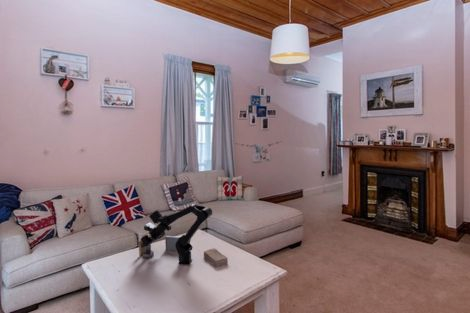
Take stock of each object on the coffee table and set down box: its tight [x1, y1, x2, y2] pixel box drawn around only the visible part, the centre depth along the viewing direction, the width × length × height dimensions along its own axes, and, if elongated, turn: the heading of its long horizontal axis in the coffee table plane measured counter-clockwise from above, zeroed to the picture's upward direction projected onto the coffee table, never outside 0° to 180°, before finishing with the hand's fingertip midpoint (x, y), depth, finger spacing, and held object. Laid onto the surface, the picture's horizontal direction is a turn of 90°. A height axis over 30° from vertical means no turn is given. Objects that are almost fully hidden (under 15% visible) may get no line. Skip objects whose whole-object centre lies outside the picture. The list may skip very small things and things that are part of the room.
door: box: [138, 233, 151, 257], centre depth 184 cm, size 1×13×10 cm, turn 167°
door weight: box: [142, 235, 155, 259], centre depth 178 cm, size 6×6×13 cm
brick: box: [203, 248, 229, 268], centre depth 172 cm, size 17×8×5 cm, turn 34°
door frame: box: [164, 235, 180, 251], centre depth 189 cm, size 25×2×9 cm, turn 77°
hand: (146, 244), depth 179 cm, fingers open, 9 cm apart
